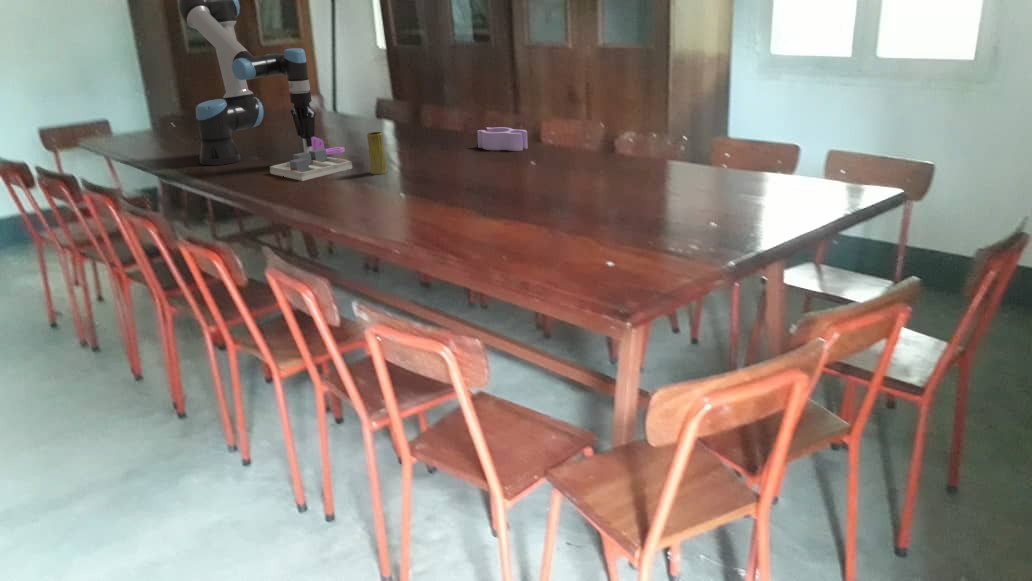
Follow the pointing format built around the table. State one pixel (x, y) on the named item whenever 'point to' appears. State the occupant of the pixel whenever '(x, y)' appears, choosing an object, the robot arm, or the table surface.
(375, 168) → the vase
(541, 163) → the table surface
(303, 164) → the slider
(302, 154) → the slider
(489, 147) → the clip
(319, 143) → the bracket
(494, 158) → the table surface
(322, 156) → the slider
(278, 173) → the switch board
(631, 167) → the table surface
